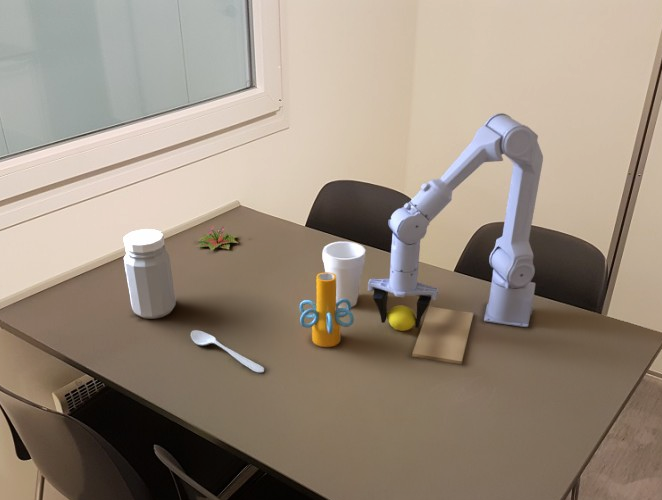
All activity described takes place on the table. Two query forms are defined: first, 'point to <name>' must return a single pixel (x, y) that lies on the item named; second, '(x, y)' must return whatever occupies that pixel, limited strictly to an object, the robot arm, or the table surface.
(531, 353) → the table surface
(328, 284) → the cylinder
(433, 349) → the birch board
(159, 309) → the jar
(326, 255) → the foam cup
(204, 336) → the spoon
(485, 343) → the table surface
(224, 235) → the lily flower
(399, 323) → the lemon
